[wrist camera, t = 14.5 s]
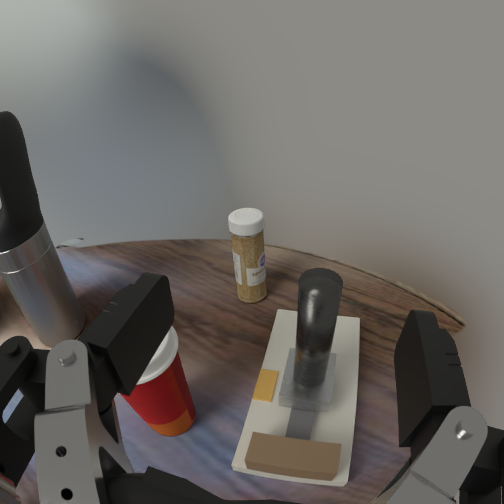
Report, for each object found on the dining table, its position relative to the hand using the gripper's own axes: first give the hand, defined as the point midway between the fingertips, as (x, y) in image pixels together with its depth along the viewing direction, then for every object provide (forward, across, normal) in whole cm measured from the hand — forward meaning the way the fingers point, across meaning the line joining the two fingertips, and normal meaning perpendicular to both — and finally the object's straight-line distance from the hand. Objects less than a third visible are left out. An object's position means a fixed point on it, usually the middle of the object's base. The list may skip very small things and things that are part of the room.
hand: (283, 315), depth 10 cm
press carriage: (+13, -2, +21) cm, 24 cm away
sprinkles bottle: (+29, +8, +23) cm, 38 cm away
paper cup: (+7, +12, +25) cm, 29 cm away
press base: (+14, -2, +24) cm, 28 cm away
